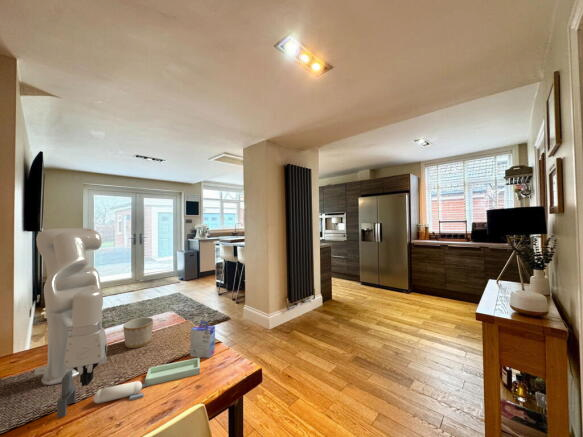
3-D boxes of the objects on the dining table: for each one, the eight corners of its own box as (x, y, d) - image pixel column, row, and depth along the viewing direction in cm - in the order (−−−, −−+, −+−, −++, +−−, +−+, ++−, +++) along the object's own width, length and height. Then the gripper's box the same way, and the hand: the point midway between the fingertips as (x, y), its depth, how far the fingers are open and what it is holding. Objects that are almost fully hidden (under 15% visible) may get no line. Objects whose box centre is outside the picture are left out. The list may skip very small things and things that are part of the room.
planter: (117, 346, 114) (117, 325, 114) (142, 335, 125) (142, 315, 125) (134, 352, 109) (134, 330, 109) (158, 339, 120) (158, 319, 121)
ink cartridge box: (215, 351, 109) (215, 320, 110) (210, 358, 104) (210, 326, 104) (195, 350, 110) (196, 319, 111) (189, 357, 105) (189, 324, 105)
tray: (145, 386, 86) (145, 379, 86) (149, 373, 93) (149, 367, 93) (199, 373, 93) (199, 367, 93) (199, 362, 100) (199, 357, 101)
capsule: (91, 407, 76) (91, 395, 76) (95, 399, 80) (96, 387, 80) (140, 395, 82) (140, 384, 82) (143, 388, 85) (143, 377, 85)
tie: (56, 417, 72) (57, 381, 72) (68, 402, 78) (68, 368, 78) (65, 415, 73) (65, 380, 73) (75, 400, 79) (76, 367, 79)
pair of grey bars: (129, 400, 79) (129, 398, 79) (134, 387, 85) (134, 385, 85) (143, 397, 81) (143, 394, 81) (146, 384, 87) (146, 382, 87)
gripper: (51, 337, 72) (50, 397, 71) (110, 328, 77) (109, 384, 77) (65, 327, 79) (64, 381, 78) (118, 320, 84) (117, 371, 84)
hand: (86, 383), depth 77 cm, fingers closed
